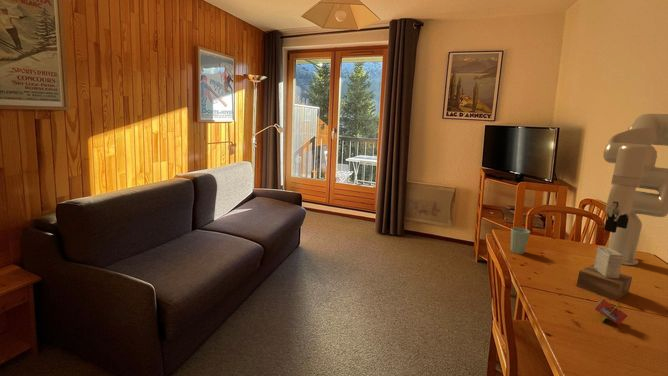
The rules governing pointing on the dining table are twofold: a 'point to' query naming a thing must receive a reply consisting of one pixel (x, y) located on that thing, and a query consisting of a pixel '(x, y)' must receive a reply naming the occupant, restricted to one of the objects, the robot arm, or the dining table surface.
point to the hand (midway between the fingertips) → (615, 229)
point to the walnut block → (603, 283)
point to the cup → (519, 239)
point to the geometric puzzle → (610, 312)
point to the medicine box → (608, 262)
